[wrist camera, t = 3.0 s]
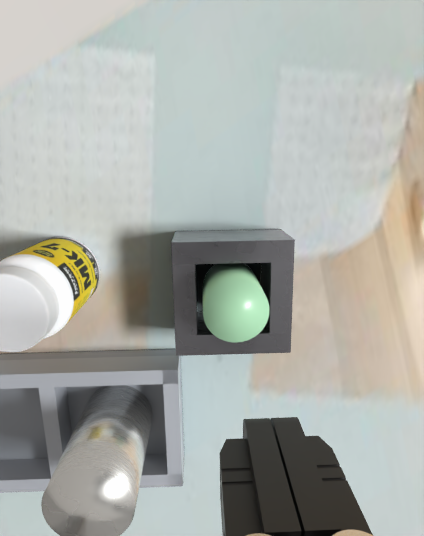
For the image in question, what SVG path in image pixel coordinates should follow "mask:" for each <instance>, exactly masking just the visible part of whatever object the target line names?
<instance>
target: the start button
mask: <svg viewBox="0 0 424 536" xmlns="http://www.w3.org/2000/svg"><path fill="white" fill-rule="evenodd" d="M203 317H204V321H205V324H206V326H207V328H208V329H209V330H210V332H211V333H212V334H213V335H215V336H216V337H218V338H219V339H221V340H224V341H227V342H243V341H247V340H250V339H252V338H253V337H255V336H256V335H258V334H259V333H260V332H261V331H262V330H263V328H264V327H265V325H266V323H267V321H268V318H269V303H268V300H267V297H266V295H265V293H264V292H263V290H262V288H261V286H260V284H259V282H258V280H257V278H256V276H255V274H254V272H253V271H252V270H251V268H250V267H248V266H247V265H246V264H244V263H228V264H216V265H214V266H213V267H212V268H210V270H209V271H208V272H207V274H206V275H205V277H204V280H203Z"/></svg>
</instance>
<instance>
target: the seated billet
mask: <svg viewBox="0 0 424 536" xmlns="http://www.w3.org/2000/svg"><path fill="white" fill-rule="evenodd" d="M152 416H153V413H152V408H151V405H150V403H149V401H148V399H147V398H146V397H145V396H144V395H143V394H142V393H141V392H140V391H138V390H137V389H135V388H133V387H130V386H126V385H117V386H105V387H103V388H101V389H99V390H97V391H96V392H95V393H94V394H93V395H92V396H91V397H90V399H89V400H88V402H87V404H86V406H85V408H84V410H83V412H82V415H81V417H80V419H79V421H78V423H77V425H76V427H75V429H74V431H73V433H72V435H71V437H70V440H69V442H68V444H67V446H66V448H65V450H64V452H63V454H62V456H61V458H60V460H59V463H58V465H57V467H56V469H55V471H54V473H53V475H52V477H51V479H50V481H49V483H48V485H47V488H46V490H45V492H44V494H43V498H42V512H43V515H44V518H45V520H46V522H47V523H48V525H49V526H50V527H51V528H52V529H53V530H54V531H55V532H56V533H57V534H59V535H60V536H120V535H121V534H122V533H123V532H124V531H125V530H126V529H127V528H128V527H129V525H130V524H131V522H132V520H133V517H134V512H135V507H136V502H137V496H138V491H139V486H140V481H141V475H142V470H143V465H144V460H145V454H146V449H147V444H148V439H149V433H150V428H151V423H152Z"/></svg>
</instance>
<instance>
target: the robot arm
mask: <svg viewBox="0 0 424 536" xmlns="http://www.w3.org/2000/svg"><path fill="white" fill-rule="evenodd" d="M220 499H221V515H222V532H223V536H373V534H372V533H371V531H370V529H369V526H368V524H367V522H366V520H365V518H364V516H363V514H362V511H361V509H360V507H359V505H358V503H357V501H356V499H355V497H354V494H353V492H352V490H351V488H350V486H349V484H348V482H347V481H346V478H345V475H344V473H343V471H342V469H341V467H340V466H339V462H338V460H337V458H336V456H335V454H334V452H333V450H332V448H331V447H330V446H329V445H328V444H326V443H325V442H324V441H323V440H322V439H321V438H320V437H319V436H305V435H304V432H303V429H302V427H301V424H300V422H299V419H298V418H297V417H291V418H271V420H270V419H269V418H265V419H244V420H243V439H226V441H225V443H224V445H223V447H222V450H221V452H220Z"/></svg>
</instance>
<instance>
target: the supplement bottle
mask: <svg viewBox="0 0 424 536" xmlns="http://www.w3.org/2000/svg"><path fill="white" fill-rule="evenodd" d="M99 279H100V269H99V264H98V261H97V259H96V257H95V255H94V254H93V253H92V251H91V250H90V249H89V248H88V247H86V246H85V245H84V244H82V243H81V242H79V241H77V240H74V239H72V238H67V237H55V238H51V239H48V240H45V241H43V242H40V243H38V244H36V245H34V246H31V247H29V248H27V249H24V250H22V251H20V252H18V253H16V254H13V255H11V256H9V257H7V258H4V259H3V260H1V261H0V351H3V352H20V351H24V350H27V349H29V348H31V347H33V346H34V345H36V344H37V343H39V342H40V341H41V340H42V339H44V338H47V337H50V336H52V335H54V334H55V333H57V332H58V331H60V330H61V329H62V328H63V327H64V326H65V325H66V324H67V323H68V322H69V321H70V319H71V318H72V317H73V316H74V315H75V314H76V313H77V311H78V310H79V309H80V308H81V307H82V306H83V305H84V304H85V302H86V301H87V300H88V299H89V298H90V297H91V296H92V294H93V293H94V292H95V290H96V288H97V286H98V283H99Z"/></svg>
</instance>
